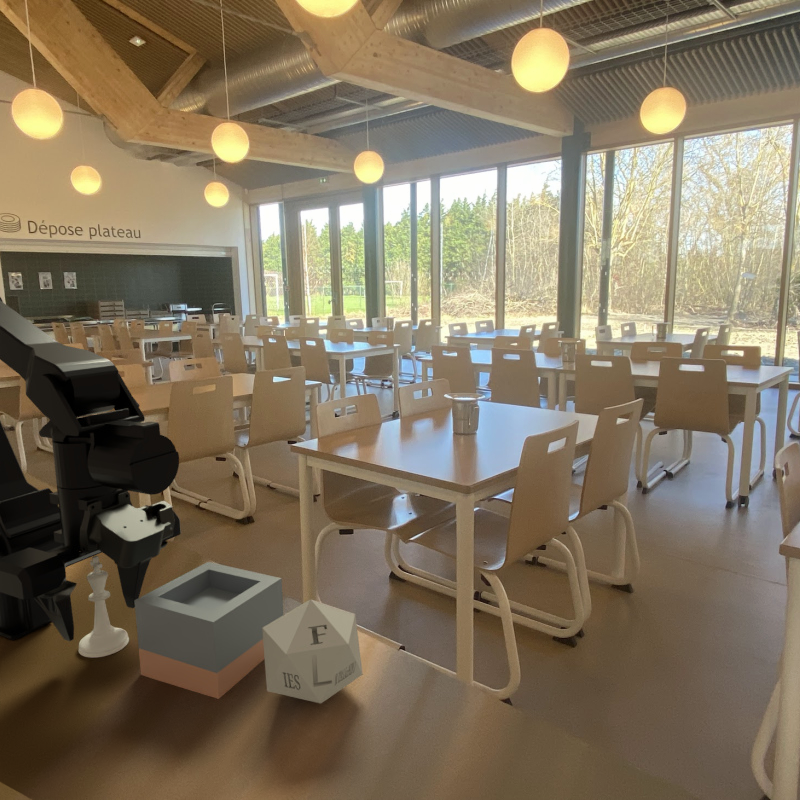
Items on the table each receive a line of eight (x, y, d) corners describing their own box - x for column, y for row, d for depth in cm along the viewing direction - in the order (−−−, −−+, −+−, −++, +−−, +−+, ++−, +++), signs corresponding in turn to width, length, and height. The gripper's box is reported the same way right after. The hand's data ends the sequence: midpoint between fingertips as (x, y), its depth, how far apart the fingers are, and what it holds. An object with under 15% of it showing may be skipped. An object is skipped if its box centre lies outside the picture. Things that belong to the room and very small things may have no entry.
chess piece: (114, 628, 73) (107, 544, 71) (137, 642, 70) (129, 555, 68) (70, 647, 69) (60, 558, 67) (92, 663, 66) (82, 570, 64)
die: (271, 743, 54) (265, 631, 52) (264, 682, 62) (258, 584, 61) (371, 723, 56) (368, 615, 54) (351, 667, 64) (348, 572, 63)
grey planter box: (141, 676, 64) (134, 600, 62) (212, 629, 73) (207, 561, 71) (218, 703, 59) (213, 622, 58) (285, 649, 68) (281, 578, 67)
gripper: (53, 521, 55) (71, 690, 57) (212, 467, 71) (220, 601, 73) (-24, 503, 60) (-4, 659, 62) (141, 457, 76) (151, 582, 78)
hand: (101, 622), depth 69 cm, fingers open, 7 cm apart
